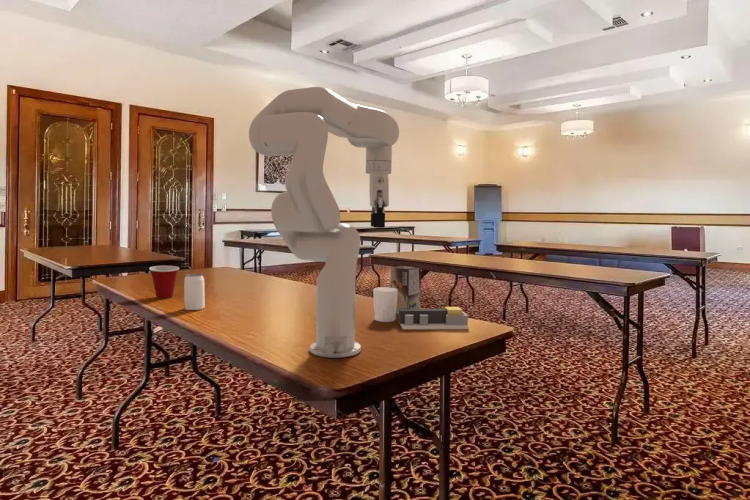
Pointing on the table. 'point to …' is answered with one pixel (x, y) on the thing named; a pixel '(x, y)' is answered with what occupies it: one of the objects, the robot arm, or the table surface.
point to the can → (194, 292)
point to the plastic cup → (164, 280)
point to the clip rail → (451, 323)
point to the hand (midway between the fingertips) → (377, 227)
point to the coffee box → (406, 286)
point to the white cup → (385, 304)
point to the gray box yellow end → (429, 314)
